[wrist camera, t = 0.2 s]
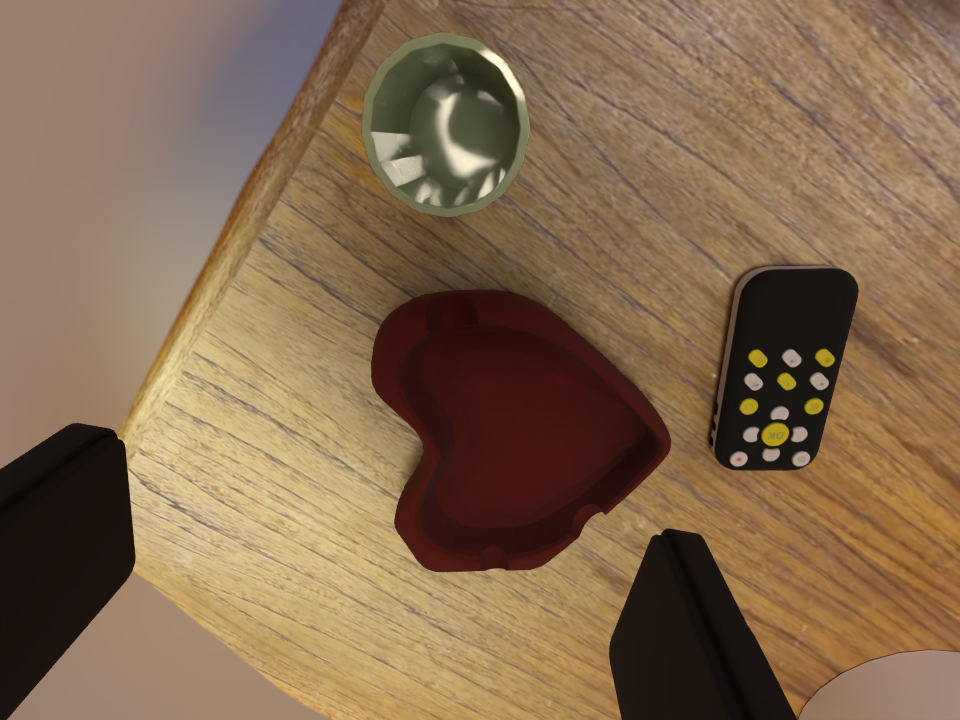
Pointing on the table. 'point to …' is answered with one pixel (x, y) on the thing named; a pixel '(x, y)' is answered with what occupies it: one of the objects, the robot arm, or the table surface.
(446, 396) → the ashtray
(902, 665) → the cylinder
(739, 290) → the remote control
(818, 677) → the table surface
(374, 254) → the table surface
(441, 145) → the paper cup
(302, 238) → the table surface
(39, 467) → the robot arm
